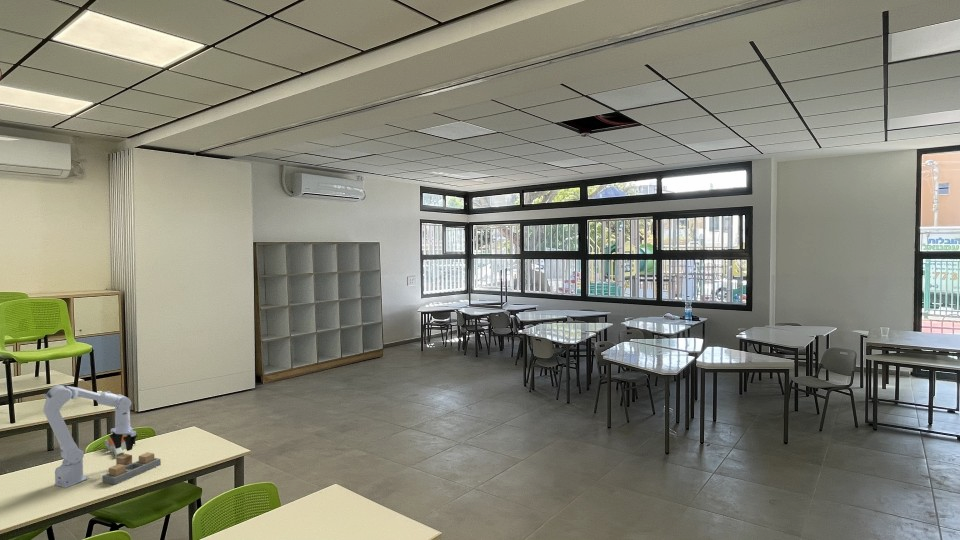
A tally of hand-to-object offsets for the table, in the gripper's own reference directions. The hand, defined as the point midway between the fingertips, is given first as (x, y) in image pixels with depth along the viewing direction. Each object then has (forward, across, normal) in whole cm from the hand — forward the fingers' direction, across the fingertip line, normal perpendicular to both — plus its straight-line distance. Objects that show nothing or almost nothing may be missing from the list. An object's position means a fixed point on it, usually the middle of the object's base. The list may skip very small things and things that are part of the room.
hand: (123, 449), depth 247 cm
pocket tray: (+8, -11, +4) cm, 14 cm away
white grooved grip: (+9, +22, -12) cm, 27 cm away
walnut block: (+8, 0, 0) cm, 8 cm away
